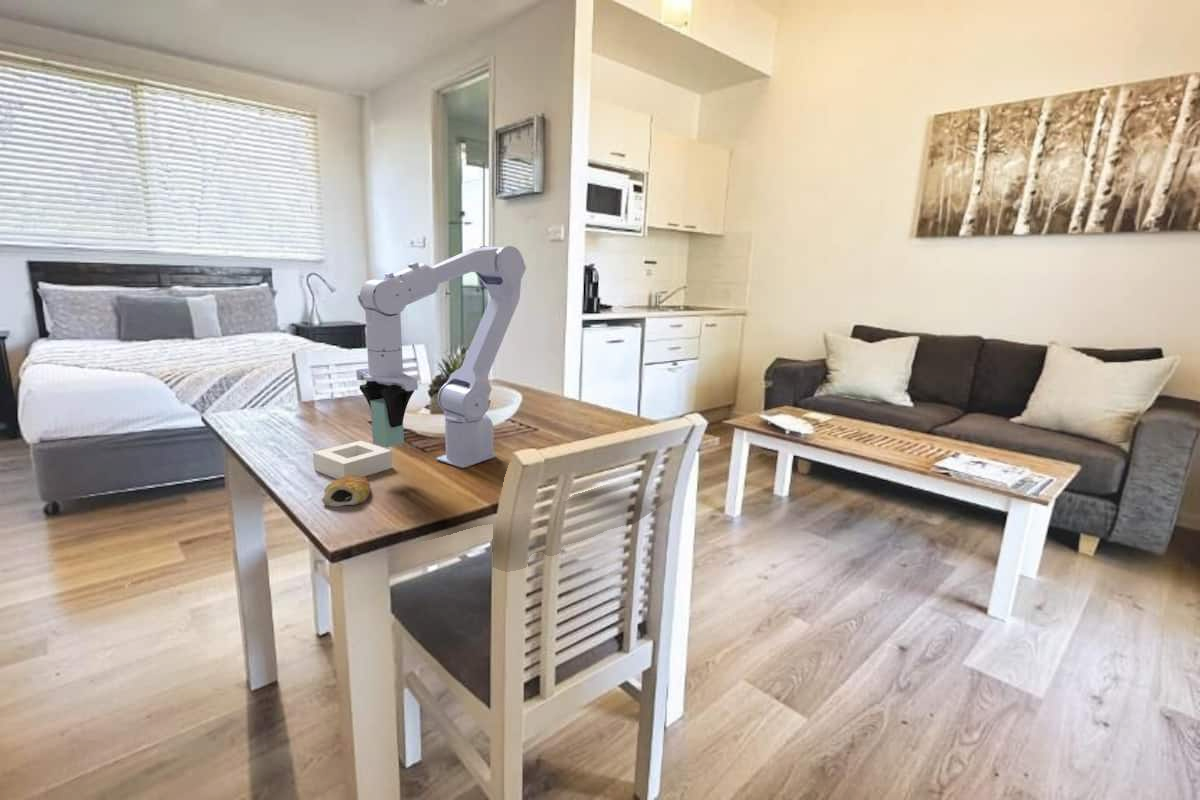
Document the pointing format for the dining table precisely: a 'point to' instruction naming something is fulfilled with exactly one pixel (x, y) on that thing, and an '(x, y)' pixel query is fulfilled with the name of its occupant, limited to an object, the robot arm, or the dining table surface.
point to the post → (384, 426)
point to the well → (352, 460)
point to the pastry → (347, 491)
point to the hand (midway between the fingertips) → (388, 423)
